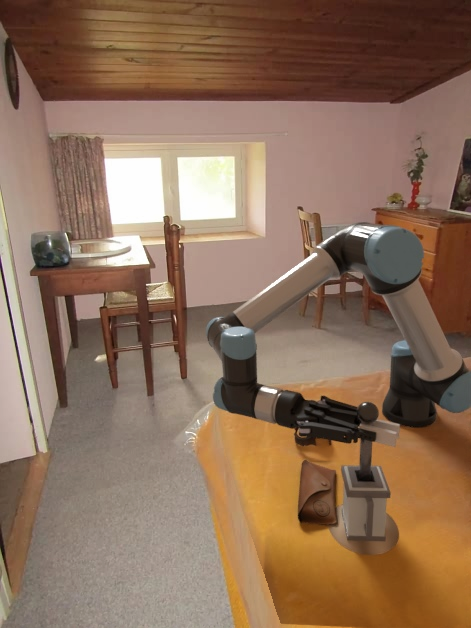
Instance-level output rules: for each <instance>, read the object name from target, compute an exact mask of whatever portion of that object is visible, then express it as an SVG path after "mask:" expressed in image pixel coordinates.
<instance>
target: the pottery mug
mask: <svg viewBox="0 0 471 628" xmlns="http://www.w3.org/2000/svg"><path fill="white" fill-rule="evenodd" d="M293 430H294V431H295V432H294V433H293V436H294V442H295V443H296V445H297V446H301V447H309V446H315V447H316V446H317V442H316V439H321V438H316V437H302V436H299V434H298V432H299V427H296V428H294V429H293ZM310 430H311V429H310ZM327 441H328V443H329V446H330V447H331V446H332V443H333V442H332V440H327ZM295 443H294V444H295Z"/></svg>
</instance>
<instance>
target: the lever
mask: <svg viewBox="0 0 471 628" xmlns="http://www.w3.org/2000/svg"><path fill="white" fill-rule="evenodd" d="M357 407H358V408H357V416H358V418H359V420H360V421H361V424H365V425H370V426H373V422H375V421H376V420H377V419H379V416H380V415H379V414H380V413H379V408H378V407H377V405H376V404H374V403H373V402H372V401H371V402H370V401H364V402H361V403H359V405H358V406H357ZM359 440H360V441H359V442H360V443H359V465H358V466H359V482H370V480H371V466H372V458H373V457H372V456H373V442H371V441H367V440H364V439H360V438H359Z"/></svg>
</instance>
